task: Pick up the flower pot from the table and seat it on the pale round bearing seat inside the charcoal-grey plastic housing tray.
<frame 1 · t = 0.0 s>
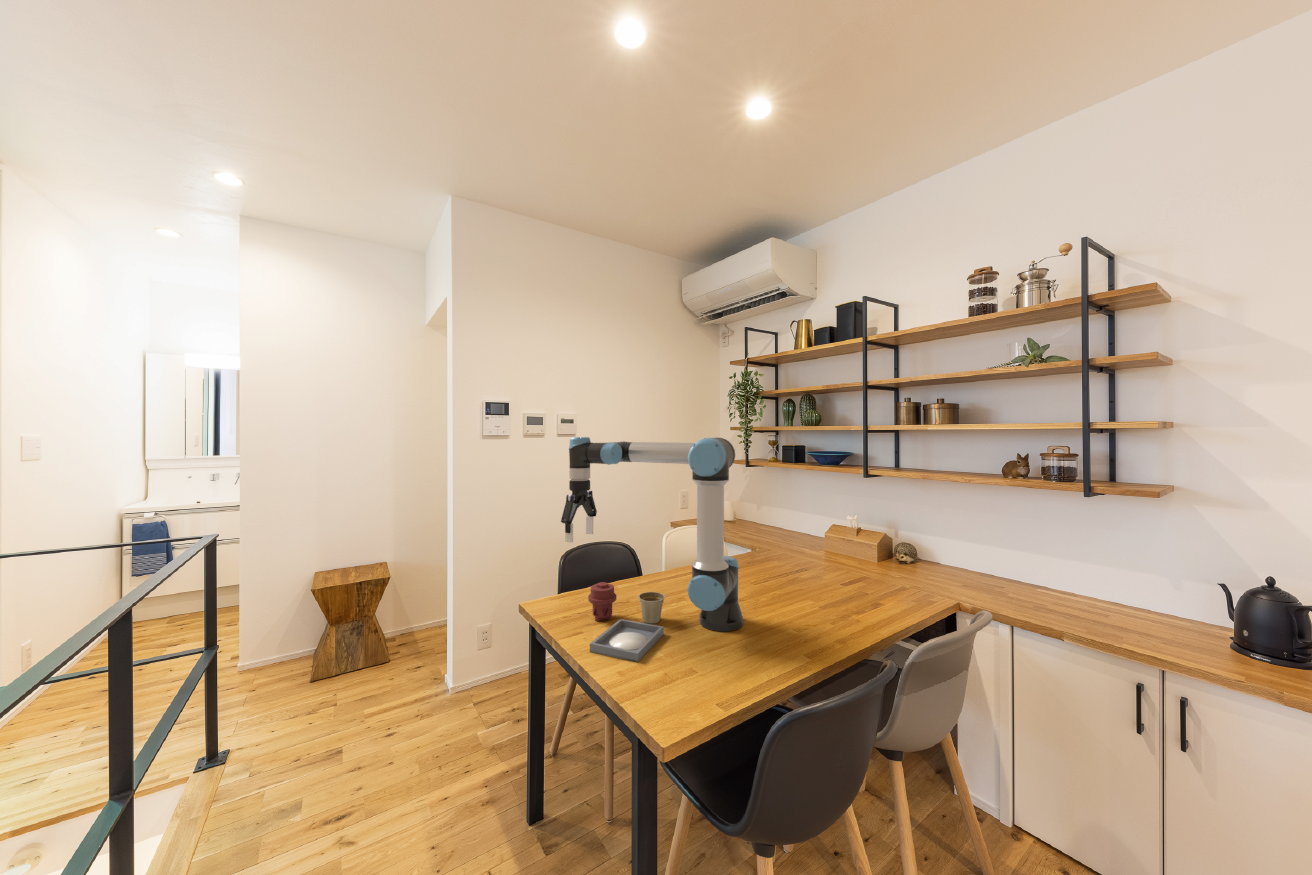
hand: (579, 537, 168), 28 cm above the table, fingers open, 13 cm apart
housing tray: (628, 642, 146), on the table
flower pot: (651, 621, 163), on the table
mechanical component: (602, 618, 165), on the table
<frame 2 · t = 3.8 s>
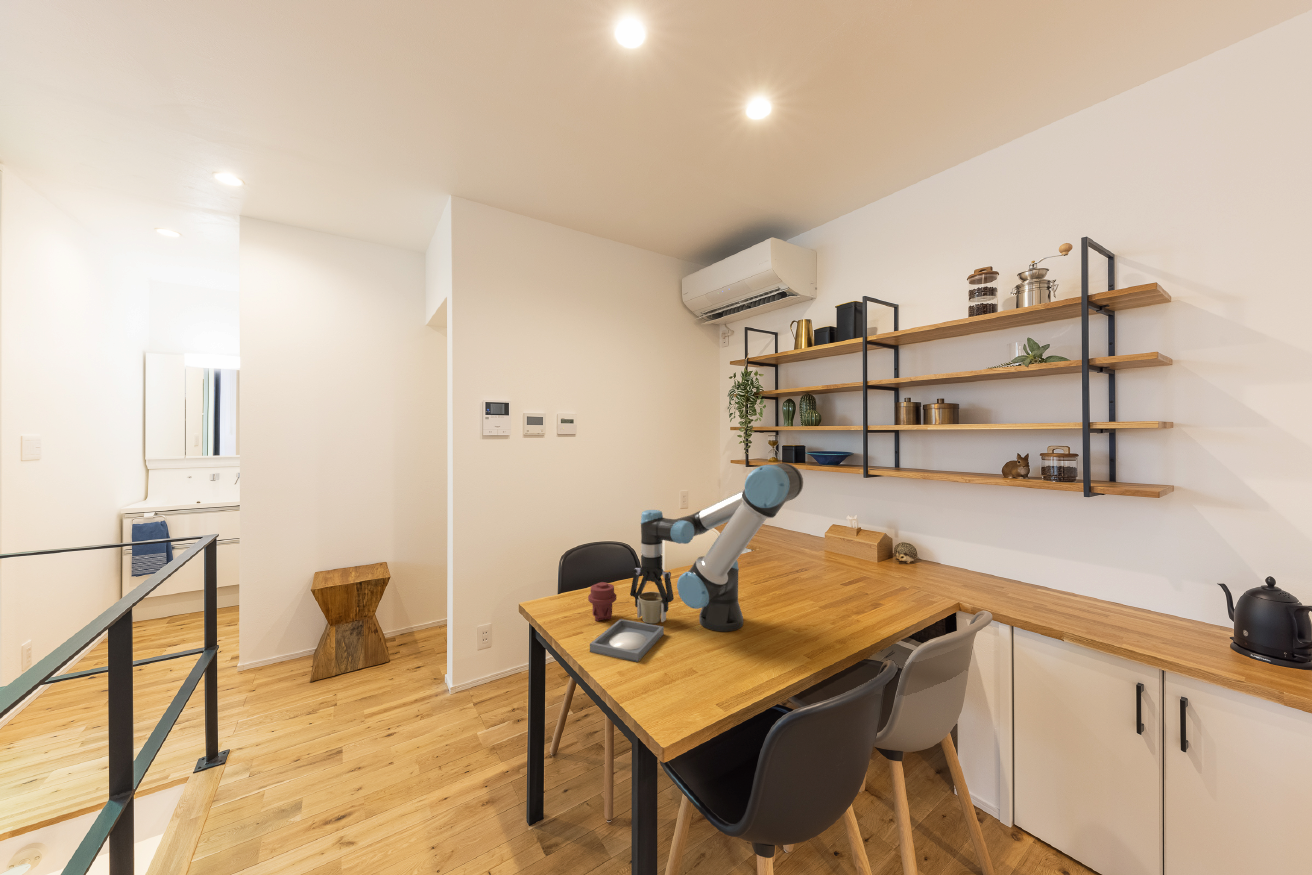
hand: (651, 618, 163), 1 cm above the table, fingers closed on flower pot, 8 cm apart
flower pot: (651, 621, 163), on the table, touching gripper
everything else where it was.
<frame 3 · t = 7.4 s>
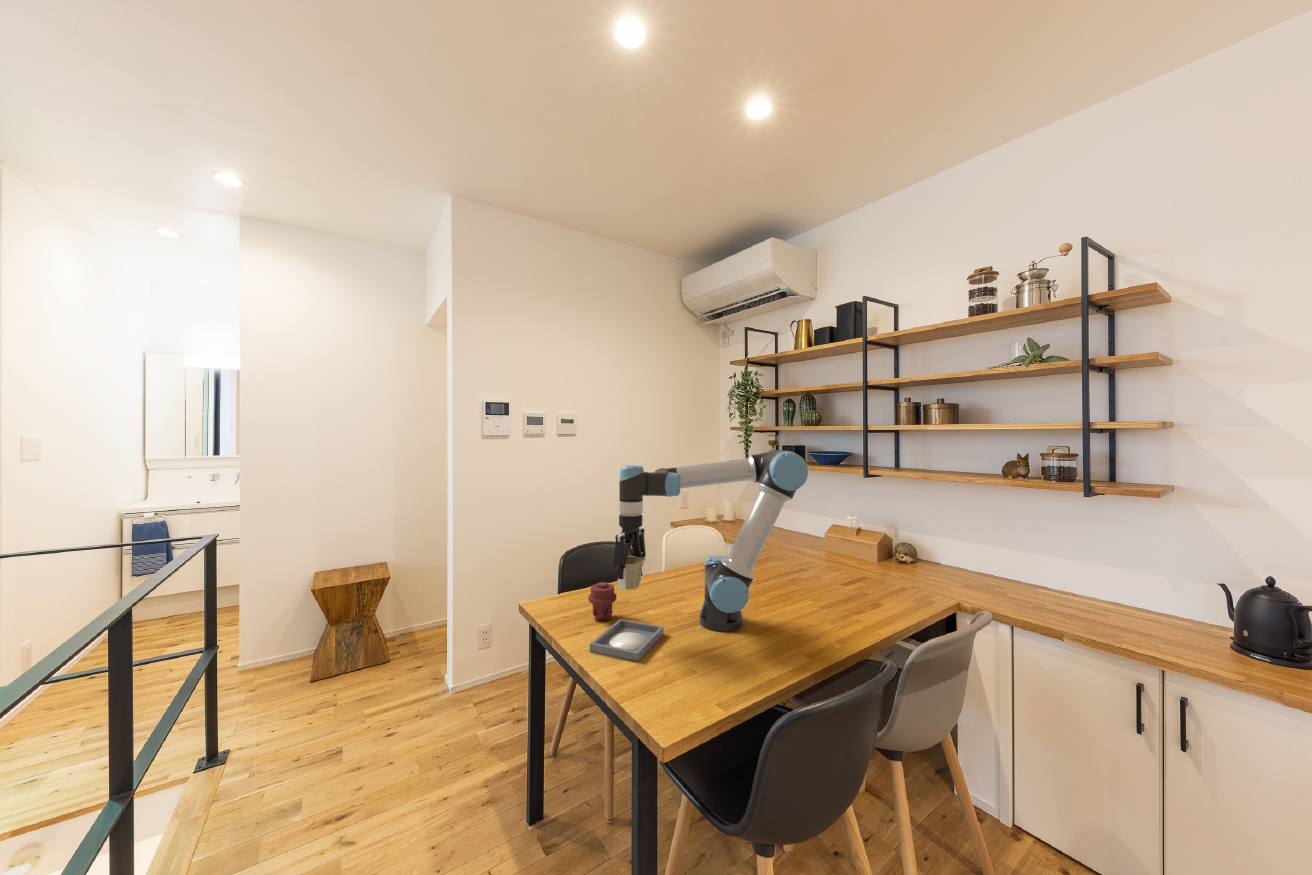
hand: (629, 584, 148), 18 cm above the table, fingers closed on flower pot, 8 cm apart
flower pot: (629, 587, 148), point 17 cm above the table, touching gripper
everything else where it was.
when the fingers open (3 cm above the table, at t = 10.9 s): flower pot drops 1 cm, resting on housing tray.
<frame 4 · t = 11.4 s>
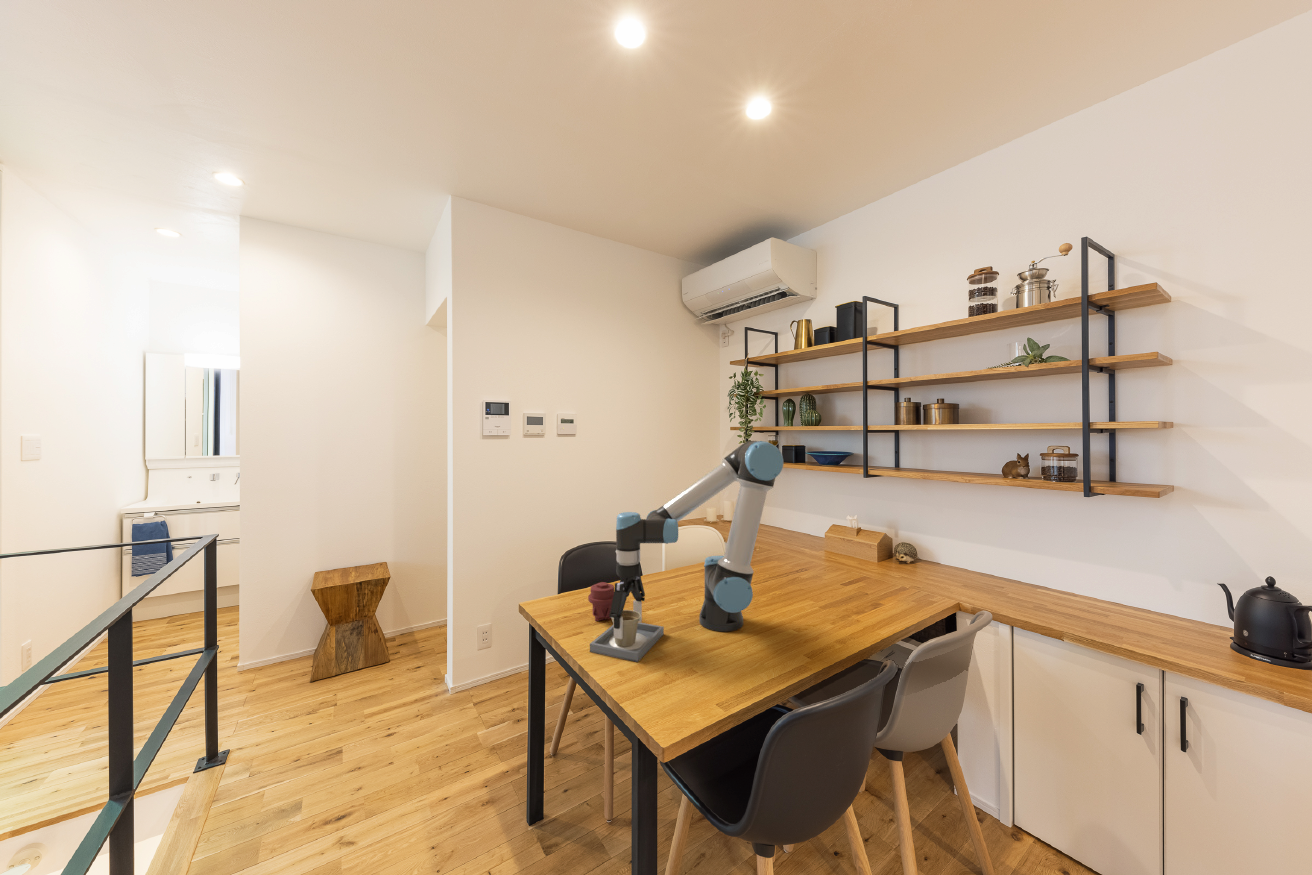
hand: (628, 629, 146), 4 cm above the table, fingers open, 13 cm apart
flower pot: (625, 643, 144), point 1 cm above the table, touching gripper, housing tray
everything else where it was.
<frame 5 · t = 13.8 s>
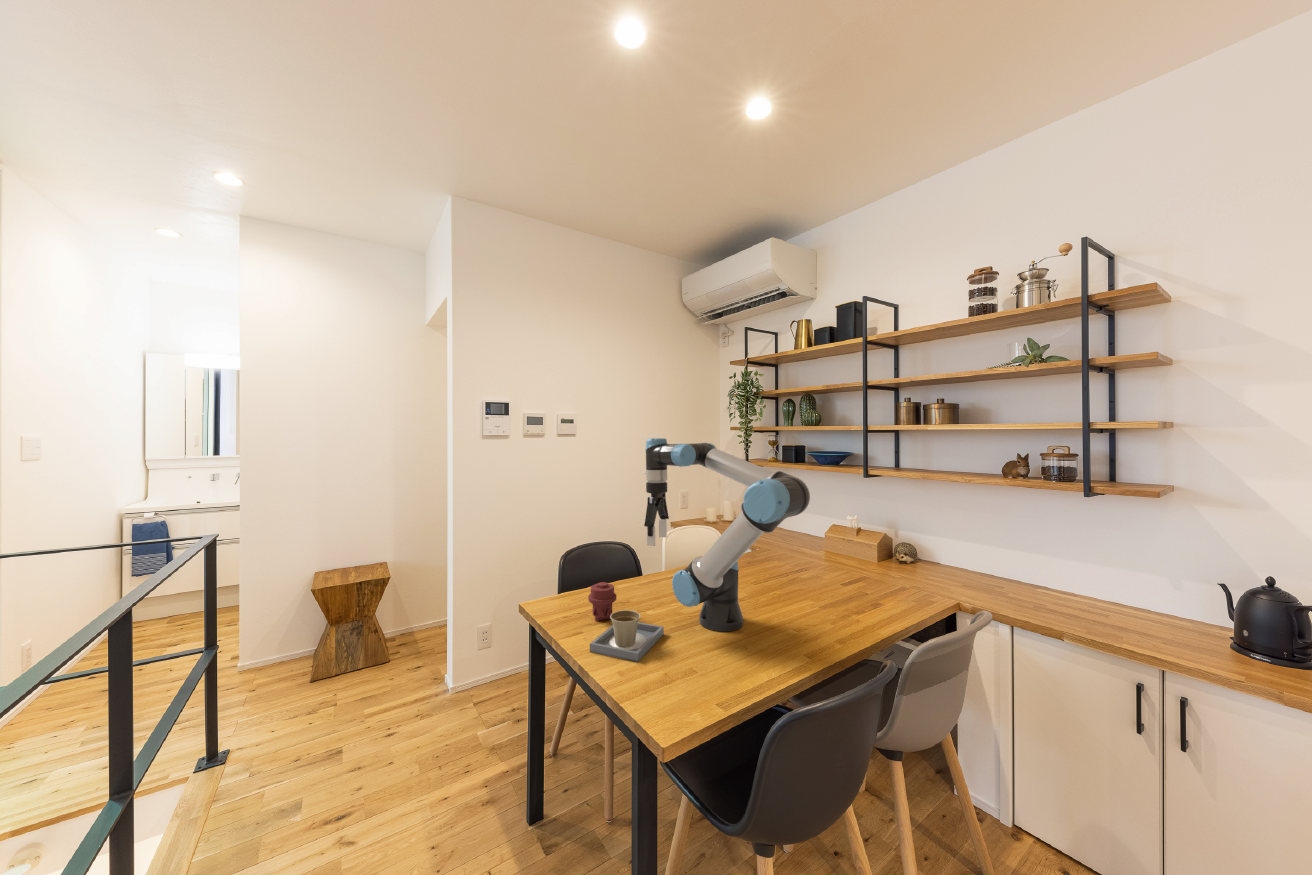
hand: (657, 541, 165), 28 cm above the table, fingers open, 13 cm apart
flower pot: (625, 643, 144), point 1 cm above the table, touching housing tray
everything else where it was.
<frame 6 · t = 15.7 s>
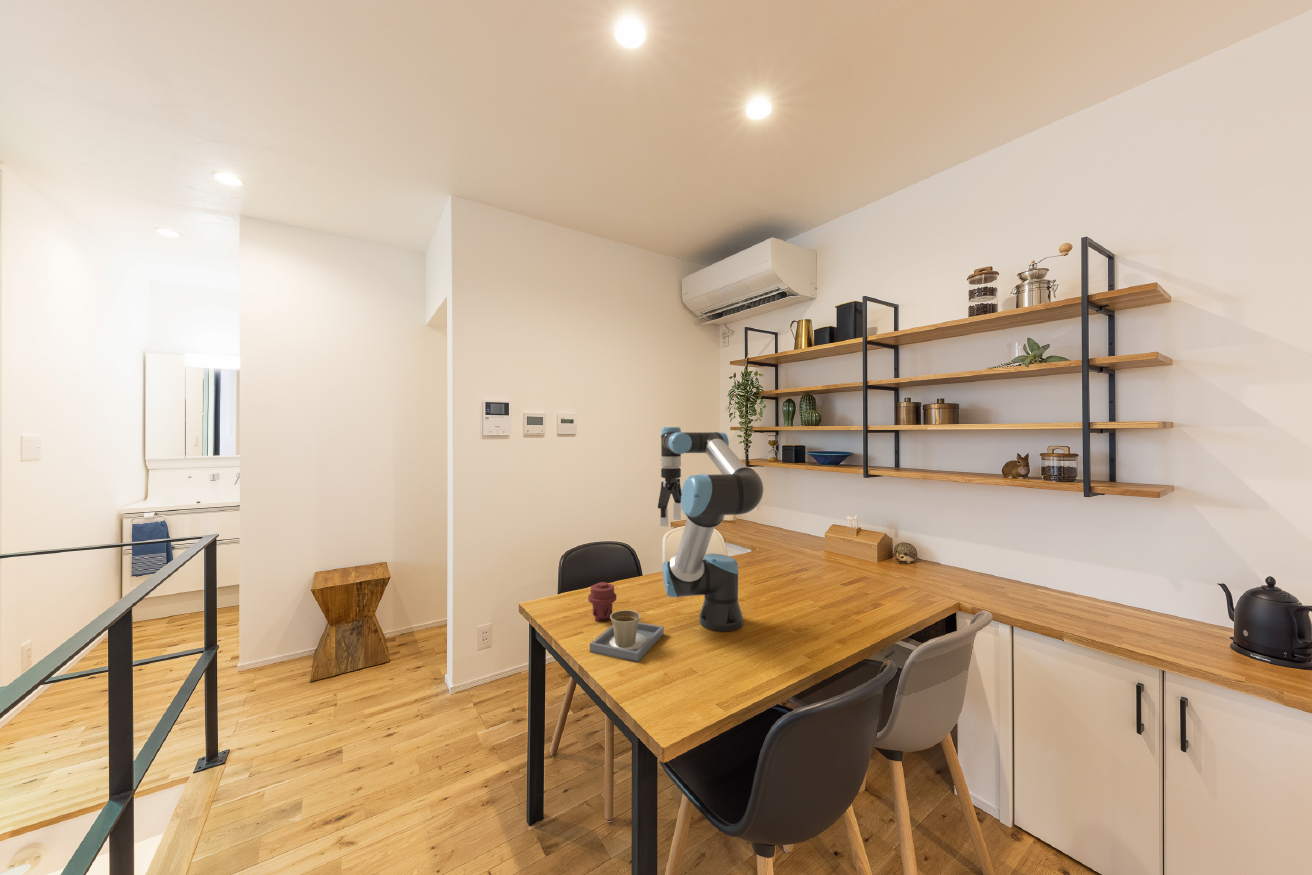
hand: (670, 522, 177), 32 cm above the table, fingers open, 13 cm apart
nothing on the table moved.
at the end: flower pot inside the target area on the housing tray (2.0 cm from its centre), point 0.5 cm above the housing tray's base; flower pot touching housing tray; the gripper is holding nothing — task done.
